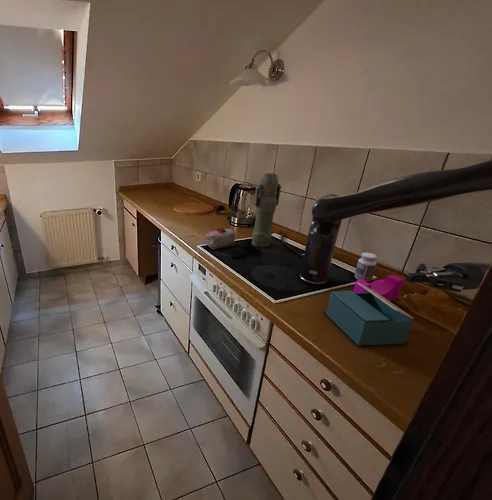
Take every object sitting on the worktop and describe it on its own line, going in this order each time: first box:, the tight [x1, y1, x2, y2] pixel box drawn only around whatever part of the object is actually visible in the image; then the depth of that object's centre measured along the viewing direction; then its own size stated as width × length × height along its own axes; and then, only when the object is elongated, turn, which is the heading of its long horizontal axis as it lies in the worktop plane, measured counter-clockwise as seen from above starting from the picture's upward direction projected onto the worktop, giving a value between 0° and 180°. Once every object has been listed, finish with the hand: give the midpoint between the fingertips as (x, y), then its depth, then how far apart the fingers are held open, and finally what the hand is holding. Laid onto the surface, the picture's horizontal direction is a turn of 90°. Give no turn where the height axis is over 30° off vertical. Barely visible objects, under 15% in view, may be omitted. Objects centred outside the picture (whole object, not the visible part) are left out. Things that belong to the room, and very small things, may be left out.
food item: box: [204, 226, 236, 250], centre depth 148 cm, size 14×8×10 cm, turn 109°
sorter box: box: [325, 290, 414, 346], centre depth 87 cm, size 15×13×8 cm
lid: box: [357, 282, 415, 320], centre depth 85 cm, size 15×6×1 cm, turn 2°
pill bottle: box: [353, 252, 378, 282], centre depth 114 cm, size 6×6×10 cm
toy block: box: [352, 274, 405, 301], centre depth 102 cm, size 15×6×8 cm, turn 101°
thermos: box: [251, 172, 282, 249], centre depth 144 cm, size 9×12×35 cm
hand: (408, 278), depth 83 cm, fingers closed
